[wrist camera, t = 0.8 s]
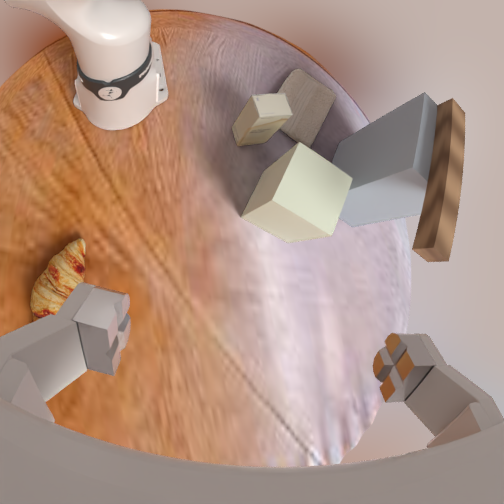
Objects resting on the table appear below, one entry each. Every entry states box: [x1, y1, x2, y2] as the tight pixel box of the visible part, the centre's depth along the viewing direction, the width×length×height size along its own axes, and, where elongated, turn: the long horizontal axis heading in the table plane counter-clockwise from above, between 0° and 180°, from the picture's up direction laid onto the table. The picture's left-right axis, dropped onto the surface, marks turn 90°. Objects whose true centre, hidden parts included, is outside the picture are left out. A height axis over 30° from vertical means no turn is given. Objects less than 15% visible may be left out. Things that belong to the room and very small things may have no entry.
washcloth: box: [277, 69, 336, 148], centre depth 57 cm, size 12×18×3 cm, turn 153°
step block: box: [241, 142, 353, 243], centre depth 48 cm, size 10×10×15 cm
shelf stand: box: [332, 92, 437, 227], centre depth 48 cm, size 16×10×26 cm, turn 154°
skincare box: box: [232, 93, 293, 146], centre depth 48 cm, size 6×4×12 cm
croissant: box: [30, 238, 86, 322], centre depth 40 cm, size 21×10×8 cm, turn 157°
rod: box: [412, 98, 465, 262], centre depth 33 cm, size 26×4×4 cm, turn 154°
